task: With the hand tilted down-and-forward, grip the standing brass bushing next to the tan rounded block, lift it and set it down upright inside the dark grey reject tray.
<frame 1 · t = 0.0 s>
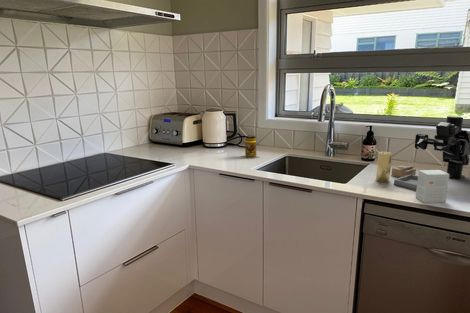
hand: (429, 147, 129), 17 cm above the worktop, tool horizontal, fingers open, 9 cm apart
tray: (416, 185, 136), on the worktop
condiment: (250, 157, 187), on the worktop
small box: (430, 200, 121), on the worktop
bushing: (382, 180, 143), on the worktop
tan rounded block: (403, 175, 149), on the worktop
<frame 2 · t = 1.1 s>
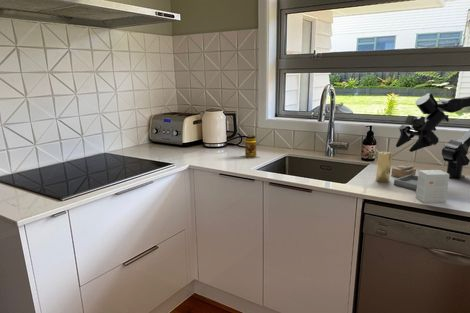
hand: (403, 148, 141), 14 cm above the worktop, tool tilted 45°, fingers open, 9 cm apart
nothing on the worktop moved.
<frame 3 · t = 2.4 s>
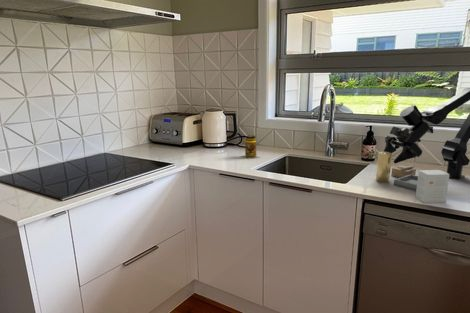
hand: (387, 159, 141), 9 cm above the worktop, tool tilted 45°, fingers open, 9 cm apart
nothing on the worktop moved.
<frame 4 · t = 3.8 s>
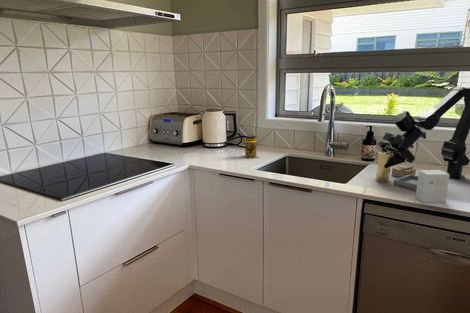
hand: (380, 165, 141), 7 cm above the worktop, tool tilted 45°, fingers closed on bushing, 5 cm apart
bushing: (382, 180, 143), on the worktop, touching gripper
everything else where it was.
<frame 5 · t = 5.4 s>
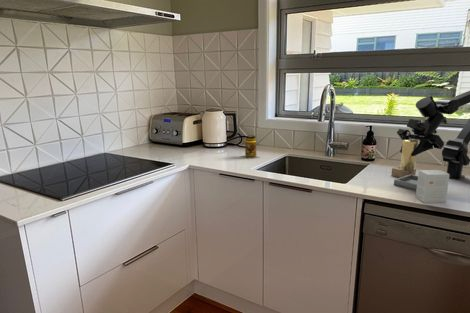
hand: (406, 154, 135), 13 cm above the worktop, tool tilted 45°, fingers closed on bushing, 5 cm apart
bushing: (407, 169, 137), point 6 cm above the worktop, touching gripper
everything else where it was.
when the fingers open (9 cm above the worktop, at t = 6.9 s): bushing drops 1 cm, resting on tray.
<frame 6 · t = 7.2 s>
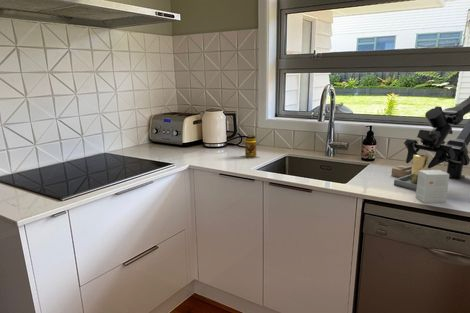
hand: (417, 165, 133), 9 cm above the worktop, tool tilted 45°, fingers open, 9 cm apart
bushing: (417, 184, 136), point 1 cm above the worktop, touching tray
everything else where it was.
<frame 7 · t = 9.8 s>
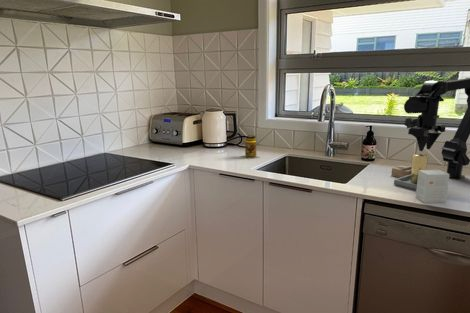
hand: (424, 150, 140), 13 cm above the worktop, tool pointing down, fingers open, 6 cm apart
nothing on the worktop moved.
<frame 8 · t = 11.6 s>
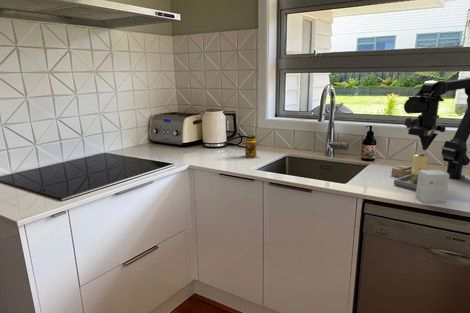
hand: (424, 150, 140), 13 cm above the worktop, tool pointing down, fingers closed
nothing on the worktop moved.
at the end: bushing inside the target area on the tray (0.1 cm from its centre), point 0.6 cm above the tray's base; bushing tilted 1°; the gripper is holding nothing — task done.
